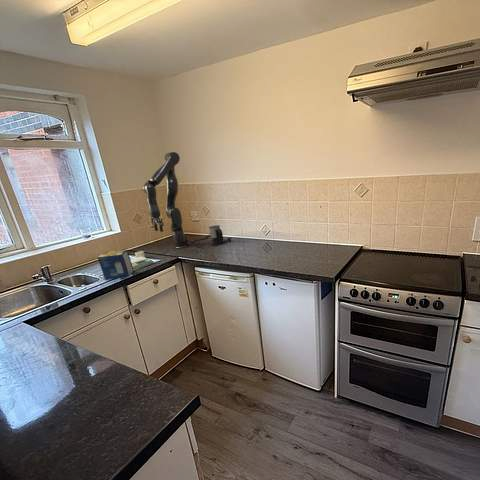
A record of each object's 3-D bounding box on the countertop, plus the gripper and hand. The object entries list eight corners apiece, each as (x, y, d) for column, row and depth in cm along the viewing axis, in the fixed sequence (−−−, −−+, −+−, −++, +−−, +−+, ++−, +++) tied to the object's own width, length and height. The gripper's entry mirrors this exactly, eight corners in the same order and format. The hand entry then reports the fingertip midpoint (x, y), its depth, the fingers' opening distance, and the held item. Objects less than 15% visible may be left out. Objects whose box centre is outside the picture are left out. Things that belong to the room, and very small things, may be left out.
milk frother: (209, 245, 248) (206, 227, 243) (222, 239, 260) (219, 223, 255) (222, 246, 241) (219, 228, 235) (234, 240, 253) (231, 223, 248)
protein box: (111, 274, 204) (104, 252, 198) (134, 271, 204) (127, 249, 199) (104, 279, 194) (96, 257, 189) (128, 276, 195) (121, 254, 189)
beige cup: (143, 256, 237) (141, 250, 235) (146, 257, 233) (144, 251, 231) (135, 259, 233) (133, 253, 231) (138, 260, 229) (137, 254, 227)
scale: (142, 259, 229) (141, 255, 228) (152, 262, 218) (151, 258, 217) (124, 265, 220) (122, 261, 219) (133, 269, 209) (132, 264, 208)
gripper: (163, 210, 229) (167, 230, 235) (154, 209, 238) (159, 229, 244) (154, 211, 224) (159, 233, 230) (145, 211, 233) (150, 231, 239)
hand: (159, 231), depth 237 cm, fingers open, 8 cm apart
